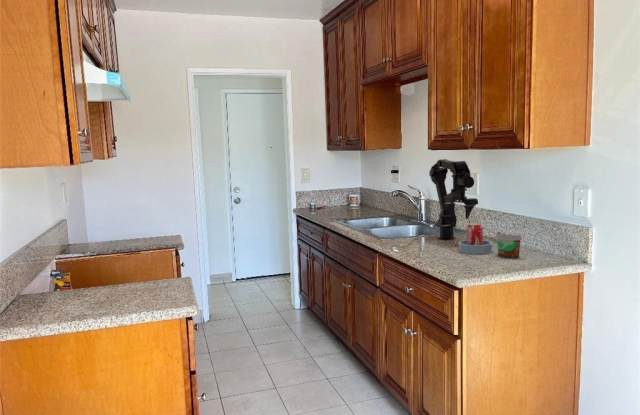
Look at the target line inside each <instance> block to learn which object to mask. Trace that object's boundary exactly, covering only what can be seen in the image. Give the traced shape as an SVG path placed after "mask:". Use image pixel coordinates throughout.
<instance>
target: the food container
mask: <svg viewBox="0 0 640 415" xmlns="http://www.w3.org/2000/svg"><path fill="white" fill-rule="evenodd" d="M494 238H495V239H496V243H497V244H496V245H497V254H498V257H500V258H505V259H516V258H517V259H518V258H520V248H521V240H522V239H523V238H522V236H521V234H516V235H513V234H510V233H509V234H508V233H507V234H504V233H501V231H497V232H496V234H495V237H494Z"/></svg>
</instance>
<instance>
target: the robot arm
mask: <svg viewBox="0 0 640 415" xmlns="http://www.w3.org/2000/svg"><path fill="white" fill-rule="evenodd" d="M448 172H451V174H452V175H451V178H452V188H451V189H450V192H449V193H447V187H446V179H447V174H448ZM428 175H429V177H430V179H431V182H432V183H433V184H434V185H435V189H436V192H437V198H438V202H439V207H440V212H439V214H438V220H437V221H436V227H437V228H439V237H437V239H441V240H445V241H446V240H447V241H449V240H454V239H455V238H456V237H455V236H454V228H456V227H457V226H456V225H457V219H458V218H457V214H456V210H455V208H456V207H455V206H456V203H458V204H459V203H460V204H461V203H462V204H464V205H463V207H464V208H465V210H464V212H465V213H464V214H465V219H466V220H468V219H469V217H470V214H471V213H472V210H473V209H474V207H476V206H477V205H478V204H479V200H478V198H475V197H470V198H468V197H467V196H466V191H467V190H468V189H471V188H472V187H474V185H475V179H474V177H472V176H471V169H470V168H469V164H468V163H467V162H466V161H465V160H458V161H457V160H455V161H454V160H449V159H438V160H437V161H436V162H435V163H434V164H433V165H432V166H431V168H430V170H429V174H428Z"/></svg>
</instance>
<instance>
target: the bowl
mask: <svg viewBox="0 0 640 415" xmlns="http://www.w3.org/2000/svg"><path fill="white" fill-rule="evenodd" d="M457 244H458V246H457V248H458V252H459V253H461V254H464V255H465V254H467V255H474V256H475V255H476V256H477V255H487V254H488V255H489V254H491V253H492V252H493V242H492V241H490V240H486V239H483V245H467V239H463V240H458V243H457Z"/></svg>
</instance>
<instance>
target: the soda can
mask: <svg viewBox="0 0 640 415" xmlns="http://www.w3.org/2000/svg"><path fill="white" fill-rule="evenodd" d="M483 233H484V230H483V226H482V223H481V222H469V223H468V224H467V227H466V240H467V245H483V240H484V234H483Z"/></svg>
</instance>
